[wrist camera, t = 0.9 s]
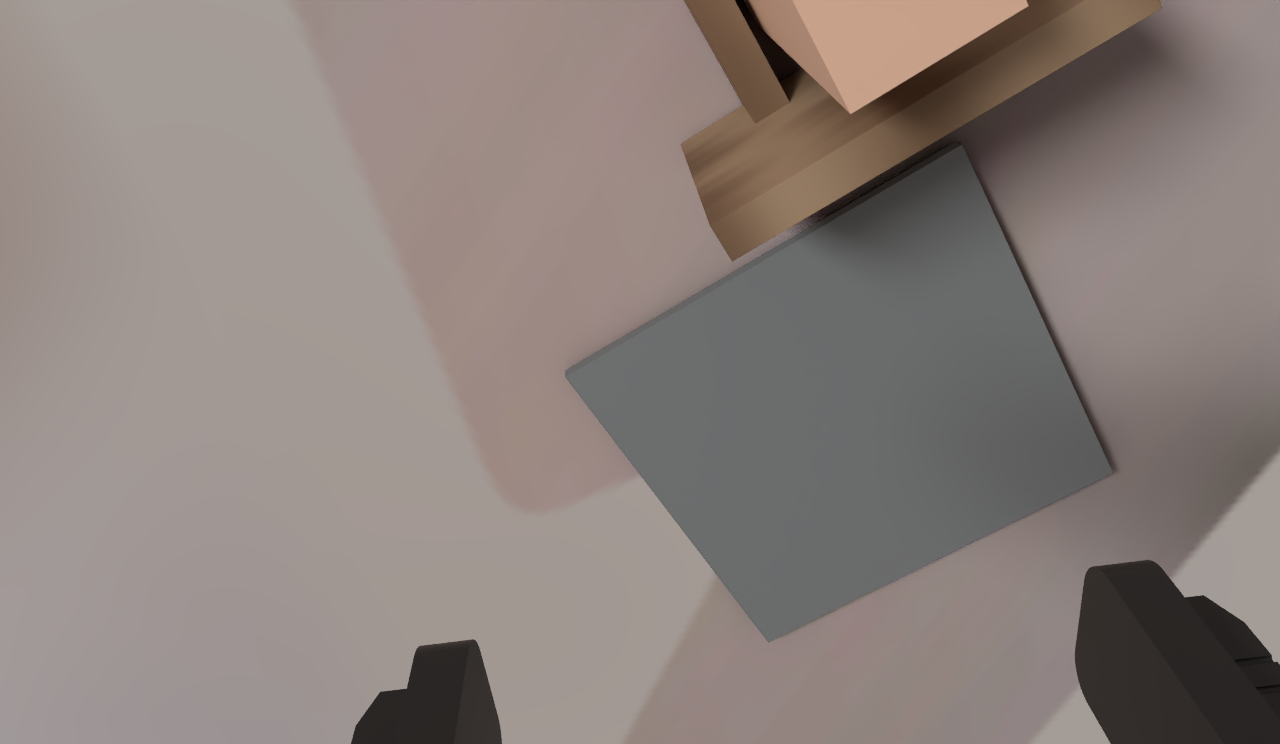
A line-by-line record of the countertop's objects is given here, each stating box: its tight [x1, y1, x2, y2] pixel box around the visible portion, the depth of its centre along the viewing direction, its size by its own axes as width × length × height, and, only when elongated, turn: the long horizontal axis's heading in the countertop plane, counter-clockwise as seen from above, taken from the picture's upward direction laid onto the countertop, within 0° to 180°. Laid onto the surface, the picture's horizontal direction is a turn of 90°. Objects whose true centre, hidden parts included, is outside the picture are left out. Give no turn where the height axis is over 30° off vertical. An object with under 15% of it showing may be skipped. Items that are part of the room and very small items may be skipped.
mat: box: [565, 141, 1113, 643], centre depth 38 cm, size 16×16×1 cm
